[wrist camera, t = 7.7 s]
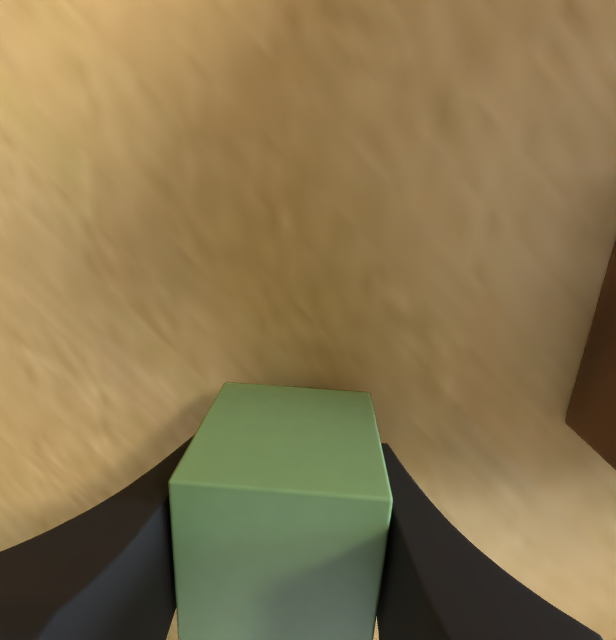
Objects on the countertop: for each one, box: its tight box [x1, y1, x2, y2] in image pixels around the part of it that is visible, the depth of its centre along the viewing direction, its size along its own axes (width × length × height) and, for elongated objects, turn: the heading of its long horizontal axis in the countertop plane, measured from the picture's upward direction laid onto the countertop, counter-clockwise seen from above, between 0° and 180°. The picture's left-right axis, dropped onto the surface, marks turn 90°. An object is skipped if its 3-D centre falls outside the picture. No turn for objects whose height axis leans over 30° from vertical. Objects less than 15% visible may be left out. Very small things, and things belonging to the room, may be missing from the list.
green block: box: [168, 382, 393, 640], centre depth 10 cm, size 4×4×4 cm
